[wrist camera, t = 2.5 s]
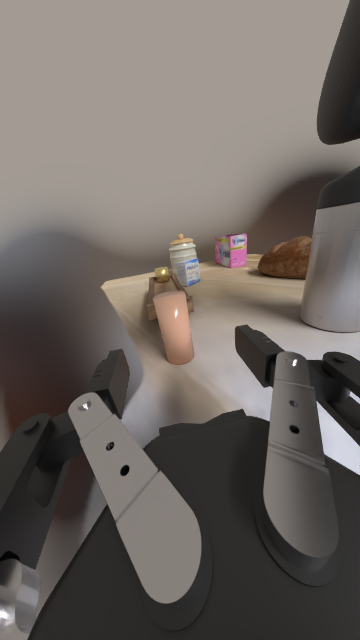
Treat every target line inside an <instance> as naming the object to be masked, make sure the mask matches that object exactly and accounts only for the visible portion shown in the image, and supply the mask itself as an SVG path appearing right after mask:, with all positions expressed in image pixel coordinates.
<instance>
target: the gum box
mask: <svg viewBox="0 0 360 640" xmlns="http://www.w3.org/2000/svg"><path fill="white" fill-rule="evenodd" d="M215 246H216V247H215V248H216V262H217V263H220V264H222V265H224V266H227V267H229V268H234V267H240V266H245V265H246V253H247V234H230V235H225V237H215Z"/></svg>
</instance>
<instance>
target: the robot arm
mask: <svg viewBox="0 0 360 640" xmlns="http://www.w3.org/2000/svg"><path fill="white" fill-rule="evenodd" d="M317 132H318V136H319V138H320V140H321V141H322V142H323V143H325V144H327V145H333V144H341V143H345V142H349V141H352V140H356V139H359V138H360V0H350V2H349V5H348V8H347V11H346V14H345V17H344V20H343V23H342V26H341V29H340V32H339V35H338V38H337V41H336V44H335V47H334V50H333V54H332V57H331V60H330V63H329V67H328V70H327V73H326V77H325V80H324V84H323V88H322V92H321V96H320V101H319V107H318V114H317ZM317 209H318V210H317V212H316V218H315V224H314V230H313V232H314V233H313V237H312V243H311V249H310V255H309V261H308V268H307V274H306V280H305V286H304V292H303V298H302V304H301V311H300V318H301V320H302V321H304V322H305V323H307V324H309V325H311V326H313V327H316V328H320V329H324V330H329V331H336V332H356V331H360V166H359V167H357V168H355V169H354V170H352V171H350V172H348V173H347V174H344V175H342V176H340V177H339V178H337V179H335V180H333V181H331V182H329V183H328V184H327V185H325V186H324V187H323V188H322V190H321V192H320V195H319V200H318V206H317ZM235 347H236V351H237V353H238V354H239V356H240V357H241V358H242V360H243V361H244V362H245V364H246V365H247V366H248V368H249V369H250V370H251V372H252V373H253V374H254V375H255V377H256V378H257V379H258V381H259V382H260V383H261V385H262V386H263V387H264V388H265V387H269V386H271V387H272V388H273V394H272V404H271V413H270V422H269V421H267V420H264V419H261V418H258V417H253V416H246V414H245V412H244V410H243V409H240V410H236V411H232V412H227V413H223V414H221V415H219V416H217V417H215V418H213V419H211V420H210V421H208V422H206V423H203V424H188V423H179V424H175V425H171V426H166V427H162V428H159V433H160V436H158V437H156V438H155V439H153V440H152V441H151V442H150V443H148V444H147V445H146V446H145V447H144V448H143V449H142V448H141V447H140V446H139V444H138V443H137V442H136V440H135V439H134V438H133V437H132V435H131V434H130V433H129V431H128V430H127V429H126V427H125V426H124V425H123V424H122V422H121V421H120V420H119V419H122V414H123V408H124V403H125V397H126V392H127V387H128V381H129V375H130V374H129V373H130V372H129V367H128V364H127V361H126V358H125V355H124V352H123V350H122V349H119V350H114V351H110V353H109V355H108V358H107V359H106V360H103V361H102V362H101V363H100V364H99V365H98V366H97V369H96V371H95V373H94V375H93V378H92V380H91V382H90V384H89V386H88V388H87V390H86V392H85V394H84V395H82V396H80V397H79V398H77V399H76V400H75V401H74V402H73V403H72V404H71V405H70V407H69V410H68V411H67V412H64V413H62V414H60V415H58V416H56V417H54V418H50V416H49V415H48V414H46V413H40V414H37V415H34V416H33V417H31V418H29V419H27V420H26V421H25V422H23V423H22V424H21V425H20V426H19V427H18V428H17V429H16V431H15V432H14V433H13V435H12V436H11V437H10V439H9V440H8V442H7V443H6V445H5V446H4V448H3V449H2V451H1V452H0V640H360V475H358V474H356V473H355V472H353V471H351V470H350V469H348V468H346V467H345V466H343V465H341V464H340V463H338V462H336V461H335V460H333V459H331V458H330V457H328V456H326V455H325V454H324V452H323V445H322V438H321V431H320V424H319V417H318V410H317V403H316V401H317V402H318V403H319V404H320V405H321V406H322V407H323V408H324V409H325V410H326V411H327V412H328V413H329V414H330V415H331V416H332V417H333V418H334V419H335V420H336V422H337V423H338V424H339V425H340V426H341V427H342V428H343V429H344V430H345V431H346V432H347V433H348V434H349V435H350V436H351V437H352V438H353V439H354V440H355V442H356V443H357V444H358V445H359V446H360V404H359V403H358V402H356V401H355V400H354V399H353V398H352V397H350V396H349V394H350V392H353V393H354V394H355V395H356V396H358V397H359V398H360V361H359V360H357V359H355V358H354V357H352V356H350V355H347V354H344V353H340V352H327V353H325V354H324V355H323V359H322V360H306V358H305V357H303V356H302V355H300V354H298V353H295V352H288V351H286V352H285V351H284V350H283V349H282V348H281V347H279V346H278V345H277V344H276V343H275V342H273V341H272V340H271V339H270V338H268V337H267V336H266V335H265V334H264V333H262V332H260V331H257V330H253V329H252V328H250V327H249V326H248V325H242V326H237V327H236V328H235ZM82 452H85V454H86V457H87V459H88V461H89V463H90V465H91V468H92V470H93V472H94V475H95V477H96V479H97V481H98V483H99V486H100V488H101V490H102V492H103V495H104V497H105V499H106V501H107V505H106V507H105V508H104V510H103V511H102V513H101V515H100V516H99V518H98V519H97V521H96V523H95V524H94V526H93V527H92V529H91V530H90V532H89V534H88V535H87V537H86V538H85V540H84V542H83V543H82V545H81V546H80V548H79V550H78V551H77V553H76V554H75V556H74V558H73V559H72V561H71V562H70V564H69V566H68V567H67V569H66V570H65V572H64V574H63V575H62V577H61V578H60V580H59V581H58V583H57V585H56V586H55V588H54V589H53V591H52V592H51V594H50V596H49V597H48V599H47V601H46V602H45V604H44V606H43V608H42V609H41V611H40V613H39V615H38V617H37V619H36V612H37V603H38V598H39V593H40V577H39V574H38V573H37V572H36V571H35V569H36V566H37V563H38V560H39V557H40V554H41V551H42V548H43V544H44V542H45V539H46V536H47V533H48V530H49V526H50V523H51V520H52V517H53V514H54V511H55V508H56V505H57V502H58V499H59V496H60V493H61V490H62V487H63V484H64V481H65V478H66V475H67V472H68V469H69V466H70V462H71V460H72V458H73V457H75V456H77V455H79V454H80V453H82ZM35 466H36V467H35ZM34 468H35V469H34ZM33 470H34V472H33ZM32 472H33V474H32ZM31 474H32V476H31ZM30 476H31V478H30ZM29 478H30V480H29ZM28 481H29V482H28Z"/></svg>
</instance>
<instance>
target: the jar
mask: <svg viewBox="0 0 360 640" xmlns="http://www.w3.org/2000/svg"><path fill="white" fill-rule="evenodd" d="M178 239H179V240H174V241H172V242H171V243H170V245H171V247H170V249H169V251H170V259H171V265H172V272H173V273H176V276H178V273H177V267H176V263H178V262H181V261H184V260H187V259H191V258H197V257H196V252H195V247H196V245H194V244H193V242H192V241H193V240H192V239H190V238H186V239H183V235H182V234H179V235H178Z"/></svg>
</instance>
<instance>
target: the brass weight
mask: <svg viewBox="0 0 360 640" xmlns="http://www.w3.org/2000/svg"><path fill="white" fill-rule="evenodd" d="M155 274H156V279H157V283H165V282H168V281H170V278H169V273H168V268H167V267H161V268H157V269H155Z"/></svg>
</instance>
